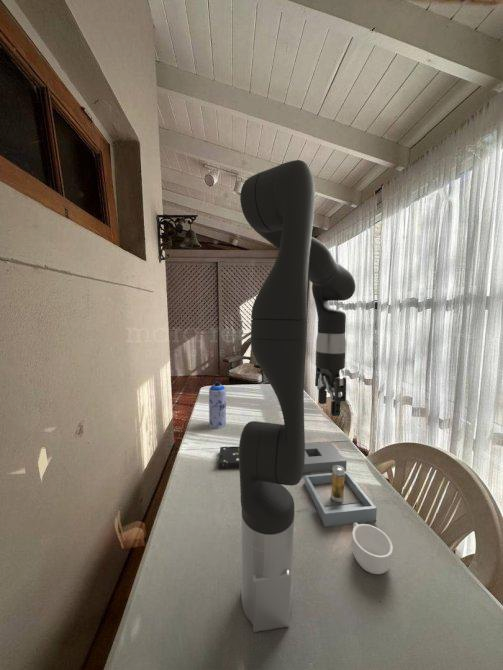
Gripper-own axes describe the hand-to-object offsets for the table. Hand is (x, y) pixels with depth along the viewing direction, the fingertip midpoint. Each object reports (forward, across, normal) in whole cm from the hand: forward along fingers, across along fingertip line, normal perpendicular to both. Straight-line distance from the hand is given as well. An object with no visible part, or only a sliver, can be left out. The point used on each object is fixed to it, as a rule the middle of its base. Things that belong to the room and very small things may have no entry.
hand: (328, 409), depth 71 cm
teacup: (+26, -18, -2) cm, 32 cm away
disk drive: (+27, +21, +22) cm, 41 cm away
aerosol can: (+26, +50, +30) cm, 64 cm away
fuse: (+25, -2, -3) cm, 25 cm away
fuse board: (+26, +16, -2) cm, 31 cm away
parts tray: (+26, -2, -3) cm, 26 cm away
